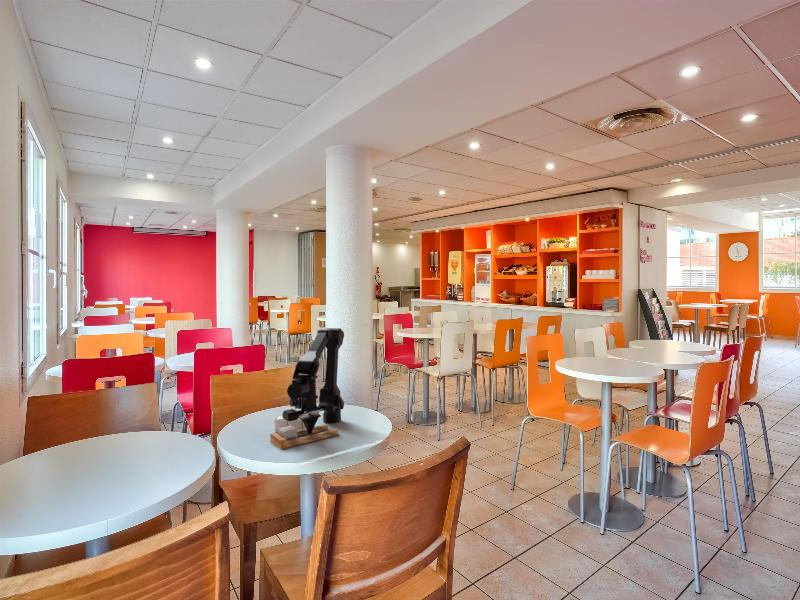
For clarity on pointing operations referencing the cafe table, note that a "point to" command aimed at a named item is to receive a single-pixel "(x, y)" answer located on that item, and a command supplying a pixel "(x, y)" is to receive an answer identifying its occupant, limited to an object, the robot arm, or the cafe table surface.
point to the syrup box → (288, 423)
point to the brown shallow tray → (304, 437)
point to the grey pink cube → (288, 432)
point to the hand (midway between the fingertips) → (309, 433)
